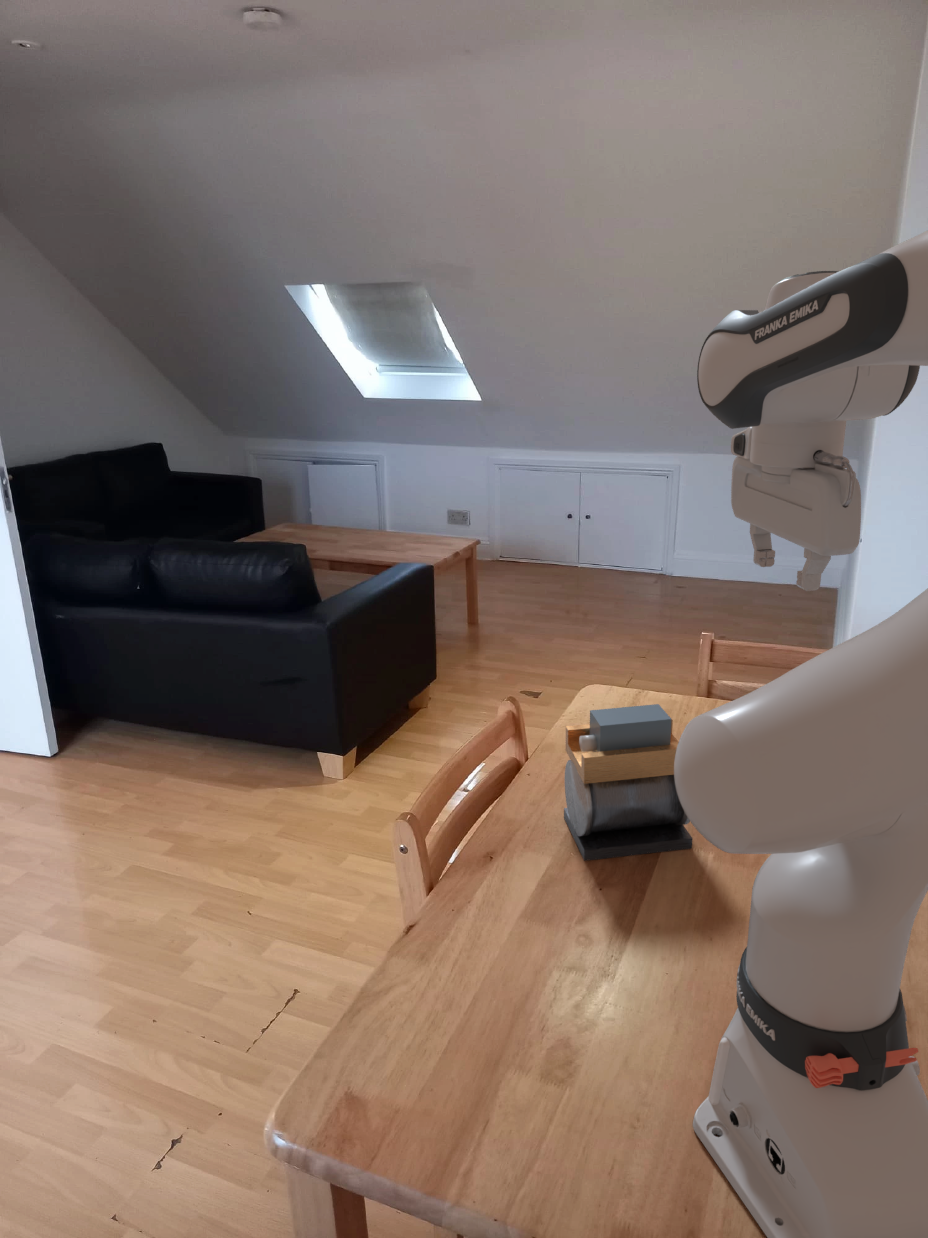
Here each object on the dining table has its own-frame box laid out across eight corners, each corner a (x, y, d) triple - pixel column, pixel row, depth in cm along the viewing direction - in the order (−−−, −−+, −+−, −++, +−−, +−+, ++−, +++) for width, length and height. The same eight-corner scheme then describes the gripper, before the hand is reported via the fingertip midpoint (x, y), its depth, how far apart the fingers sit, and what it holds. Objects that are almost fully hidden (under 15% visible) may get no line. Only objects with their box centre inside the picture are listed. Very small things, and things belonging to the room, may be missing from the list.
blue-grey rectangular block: (669, 755, 106) (671, 719, 104) (586, 764, 105) (586, 727, 103) (656, 739, 110) (658, 704, 108) (576, 747, 109) (576, 711, 107)
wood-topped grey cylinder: (691, 848, 108) (698, 749, 103) (584, 860, 106) (585, 760, 101) (663, 807, 117) (667, 714, 112) (563, 817, 115) (564, 724, 111)
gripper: (887, 457, 77) (869, 603, 81) (777, 433, 96) (767, 552, 101) (822, 461, 76) (807, 608, 81) (724, 436, 95) (716, 555, 100)
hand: (784, 576), depth 91 cm, fingers open, 8 cm apart
